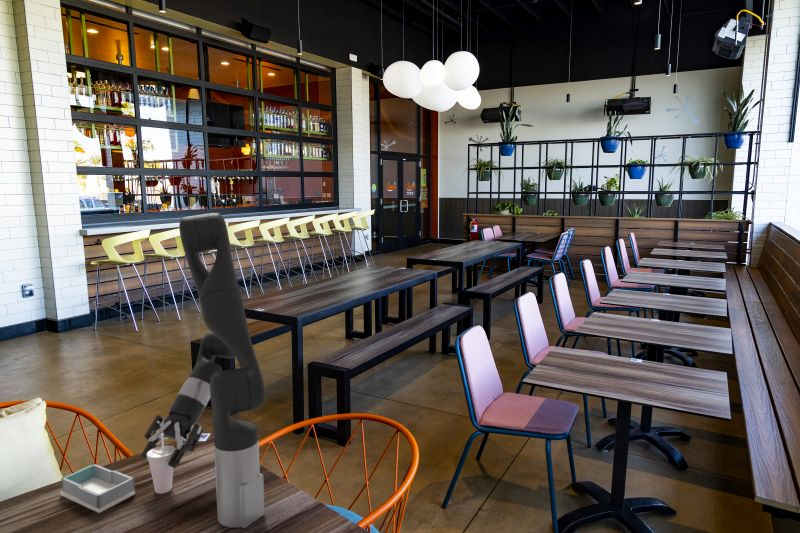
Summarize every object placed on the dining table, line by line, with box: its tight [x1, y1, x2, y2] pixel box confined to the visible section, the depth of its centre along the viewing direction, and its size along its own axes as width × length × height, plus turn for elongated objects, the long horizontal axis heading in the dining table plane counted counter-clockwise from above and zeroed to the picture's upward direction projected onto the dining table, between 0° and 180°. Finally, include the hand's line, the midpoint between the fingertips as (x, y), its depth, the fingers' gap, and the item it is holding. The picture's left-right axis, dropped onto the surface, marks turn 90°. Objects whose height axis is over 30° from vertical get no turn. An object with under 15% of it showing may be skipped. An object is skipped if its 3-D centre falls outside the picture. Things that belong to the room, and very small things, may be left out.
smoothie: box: [146, 433, 176, 495], centre depth 128 cm, size 6×6×14 cm
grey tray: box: [60, 463, 136, 514], centre depth 126 cm, size 15×9×4 cm, turn 61°
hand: (158, 462), depth 127 cm, fingers open, 8 cm apart
